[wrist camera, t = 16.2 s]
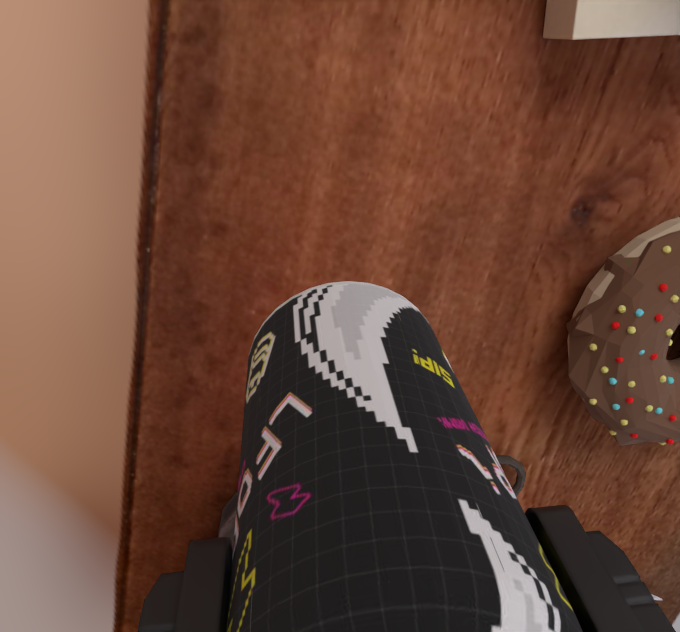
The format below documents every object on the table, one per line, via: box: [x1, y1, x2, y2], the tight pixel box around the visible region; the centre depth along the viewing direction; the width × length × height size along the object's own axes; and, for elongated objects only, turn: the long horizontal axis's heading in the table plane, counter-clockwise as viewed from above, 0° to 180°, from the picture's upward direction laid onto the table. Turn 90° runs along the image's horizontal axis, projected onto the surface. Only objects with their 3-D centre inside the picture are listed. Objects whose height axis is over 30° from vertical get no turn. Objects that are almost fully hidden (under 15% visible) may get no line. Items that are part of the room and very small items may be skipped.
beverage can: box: [227, 281, 583, 632], centre depth 13 cm, size 6×6×12 cm
